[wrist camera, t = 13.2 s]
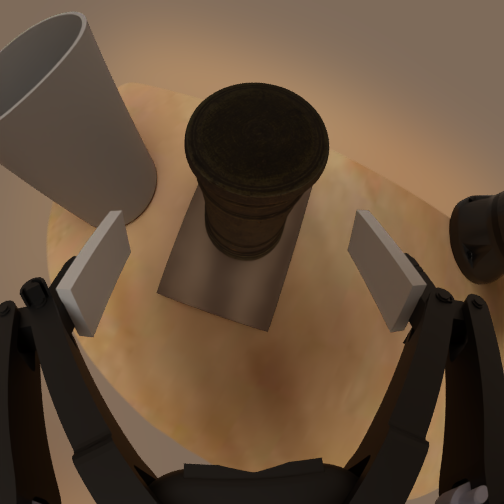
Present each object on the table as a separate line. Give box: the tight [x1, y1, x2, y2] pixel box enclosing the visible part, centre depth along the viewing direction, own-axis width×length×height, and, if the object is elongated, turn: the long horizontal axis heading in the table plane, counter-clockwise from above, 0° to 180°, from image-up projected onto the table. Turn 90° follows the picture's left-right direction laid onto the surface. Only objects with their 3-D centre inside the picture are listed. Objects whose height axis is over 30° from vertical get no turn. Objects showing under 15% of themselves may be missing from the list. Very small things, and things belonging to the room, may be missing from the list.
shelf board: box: [157, 184, 312, 332], centre depth 34 cm, size 13×22×3 cm, turn 162°
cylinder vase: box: [0, 12, 157, 228], centre depth 23 cm, size 12×12×25 cm
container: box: [185, 83, 329, 261], centre depth 24 cm, size 9×9×18 cm
